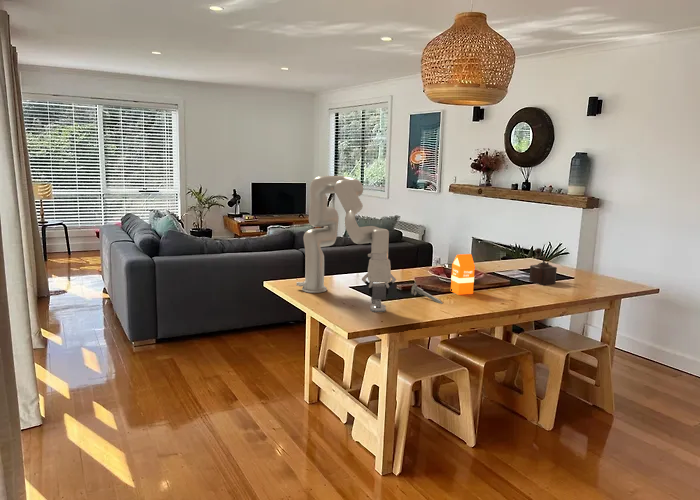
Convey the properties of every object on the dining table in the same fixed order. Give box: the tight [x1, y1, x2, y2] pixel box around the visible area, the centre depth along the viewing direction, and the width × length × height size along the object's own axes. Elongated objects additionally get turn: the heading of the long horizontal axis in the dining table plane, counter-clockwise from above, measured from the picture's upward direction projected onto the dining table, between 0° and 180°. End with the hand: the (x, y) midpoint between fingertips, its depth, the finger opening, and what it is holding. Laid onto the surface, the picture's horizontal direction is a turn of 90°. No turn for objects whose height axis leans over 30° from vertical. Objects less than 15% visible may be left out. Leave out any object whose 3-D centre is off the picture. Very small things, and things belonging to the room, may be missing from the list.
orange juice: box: [450, 253, 476, 296], centre depth 277 cm, size 8×9×20 cm
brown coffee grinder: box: [528, 247, 558, 286], centre depth 305 cm, size 16×11×18 cm
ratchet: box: [369, 296, 387, 313], centre depth 250 cm, size 7×21×5 cm, turn 3°
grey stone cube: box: [372, 282, 387, 301], centre depth 242 cm, size 6×6×6 cm
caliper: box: [410, 283, 444, 305], centre depth 264 cm, size 20×1×6 cm, turn 39°
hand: (378, 295), depth 243 cm, fingers closed on grey stone cube, 6 cm apart
